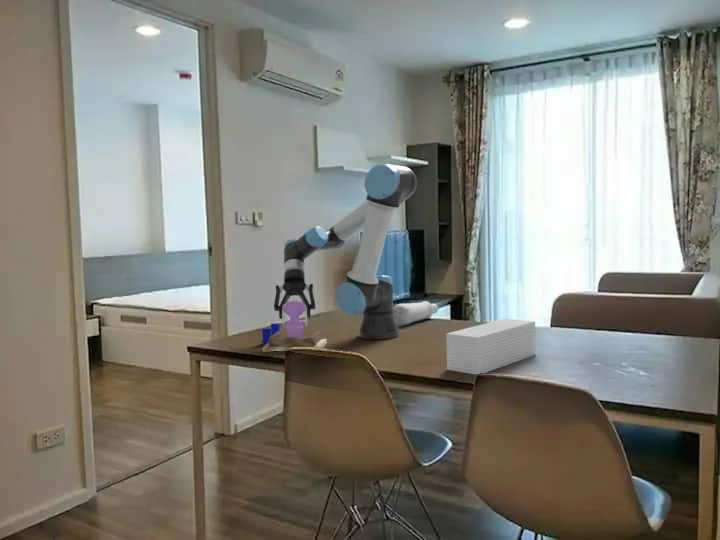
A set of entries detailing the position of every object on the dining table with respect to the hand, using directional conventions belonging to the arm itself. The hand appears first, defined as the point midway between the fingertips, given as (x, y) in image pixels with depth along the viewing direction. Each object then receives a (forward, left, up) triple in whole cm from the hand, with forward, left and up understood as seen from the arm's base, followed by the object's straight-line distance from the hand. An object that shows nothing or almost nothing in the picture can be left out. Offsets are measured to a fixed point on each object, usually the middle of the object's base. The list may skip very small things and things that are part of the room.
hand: (294, 324), depth 217 cm
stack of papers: (-65, +23, -9) cm, 69 cm away
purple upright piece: (+1, -3, -7) cm, 8 cm away
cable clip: (+13, -14, -9) cm, 21 cm away
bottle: (-41, -54, -9) cm, 69 cm away
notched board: (+1, -2, -9) cm, 9 cm away
